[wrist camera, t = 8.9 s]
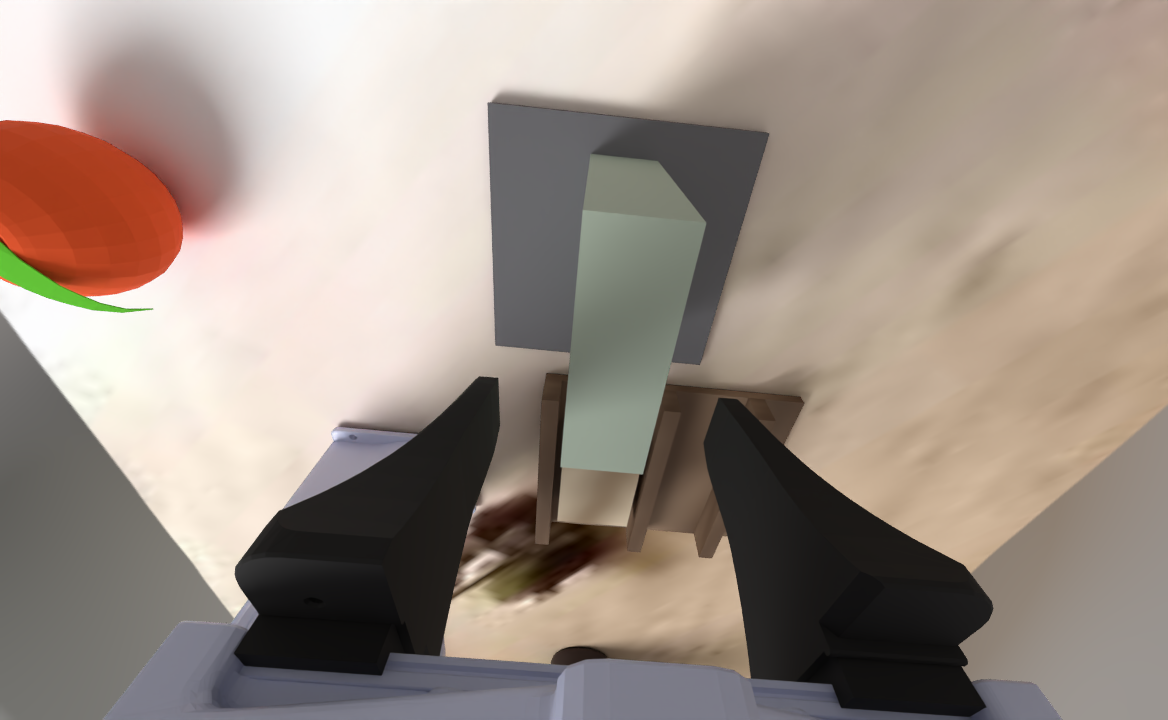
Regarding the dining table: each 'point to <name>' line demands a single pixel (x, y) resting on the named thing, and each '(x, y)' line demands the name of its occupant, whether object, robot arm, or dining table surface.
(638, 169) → the sage panel
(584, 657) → the bottle
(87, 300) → the tomato
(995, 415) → the dining table surface
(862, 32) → the dining table surface
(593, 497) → the offcut top
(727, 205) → the mat
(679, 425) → the rack
